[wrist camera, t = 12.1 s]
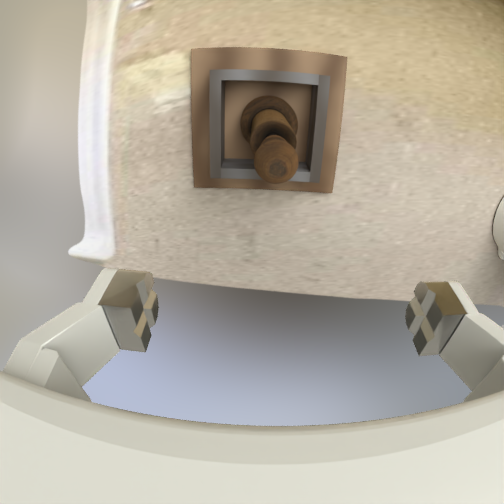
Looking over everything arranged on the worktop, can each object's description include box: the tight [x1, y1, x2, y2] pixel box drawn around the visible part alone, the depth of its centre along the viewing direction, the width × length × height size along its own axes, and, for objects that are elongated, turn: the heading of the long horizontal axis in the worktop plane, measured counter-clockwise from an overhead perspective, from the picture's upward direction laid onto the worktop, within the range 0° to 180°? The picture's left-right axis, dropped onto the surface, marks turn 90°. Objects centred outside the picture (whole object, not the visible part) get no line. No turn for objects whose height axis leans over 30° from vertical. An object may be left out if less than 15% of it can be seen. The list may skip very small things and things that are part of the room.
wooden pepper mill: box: [240, 95, 298, 184], centre depth 26 cm, size 7×6×18 cm
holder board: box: [191, 47, 347, 193], centre depth 32 cm, size 18×18×5 cm
